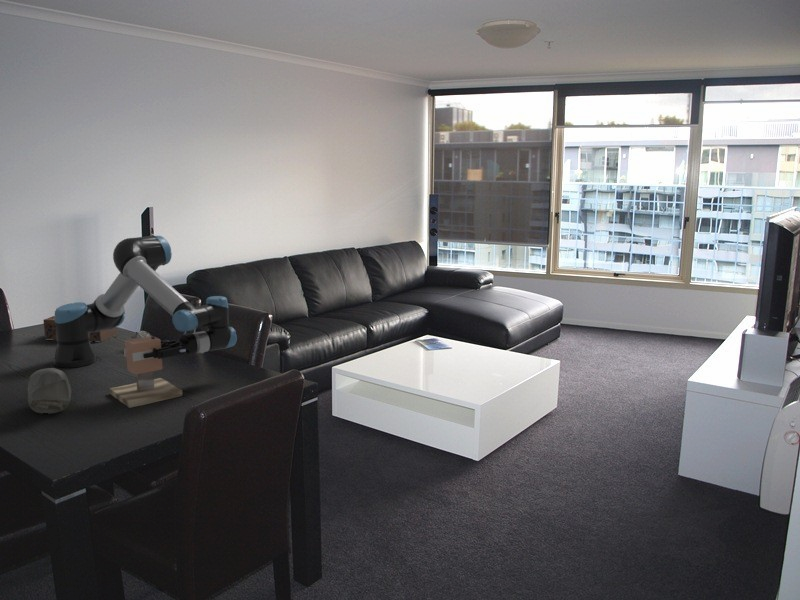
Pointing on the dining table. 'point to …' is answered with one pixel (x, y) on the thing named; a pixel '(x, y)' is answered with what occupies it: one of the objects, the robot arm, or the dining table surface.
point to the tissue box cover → (96, 336)
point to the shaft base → (145, 391)
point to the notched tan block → (139, 346)
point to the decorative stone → (48, 391)
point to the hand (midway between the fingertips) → (128, 354)
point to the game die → (141, 334)
